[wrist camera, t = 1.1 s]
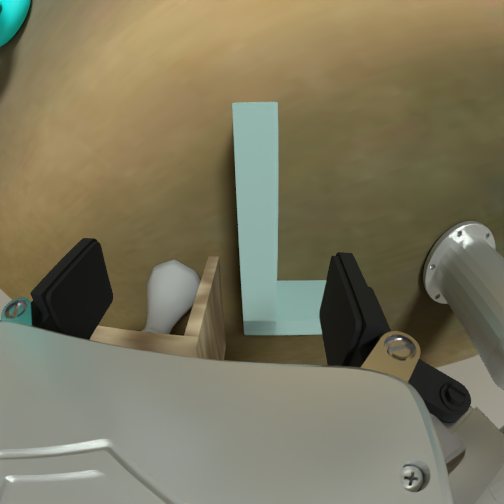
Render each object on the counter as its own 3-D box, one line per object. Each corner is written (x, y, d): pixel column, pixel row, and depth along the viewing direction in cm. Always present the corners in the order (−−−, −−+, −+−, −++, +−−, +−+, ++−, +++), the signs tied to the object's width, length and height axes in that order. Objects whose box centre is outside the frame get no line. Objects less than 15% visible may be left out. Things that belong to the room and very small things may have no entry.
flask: (178, 314, 38) (158, 372, 29) (138, 279, 36) (107, 333, 27) (216, 289, 36) (202, 350, 27) (174, 248, 33) (145, 304, 24)
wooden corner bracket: (218, 256, 33) (195, 347, 21) (225, 345, 41) (214, 429, 29) (130, 254, 34) (77, 332, 22) (153, 340, 41) (125, 415, 29)
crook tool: (345, 105, 24) (369, 108, 18) (328, 293, 35) (339, 333, 29) (240, 102, 25) (232, 103, 19) (247, 294, 36) (244, 334, 30)
